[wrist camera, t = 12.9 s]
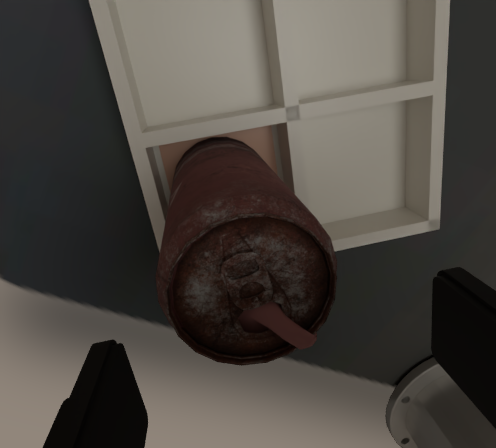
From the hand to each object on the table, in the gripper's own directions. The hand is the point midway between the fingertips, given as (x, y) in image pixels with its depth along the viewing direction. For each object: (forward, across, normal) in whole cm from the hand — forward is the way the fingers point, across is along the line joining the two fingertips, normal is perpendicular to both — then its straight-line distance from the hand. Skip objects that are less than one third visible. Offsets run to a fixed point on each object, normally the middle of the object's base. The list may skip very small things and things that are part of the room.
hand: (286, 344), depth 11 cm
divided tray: (+16, -4, -5) cm, 17 cm away
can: (+15, +1, -1) cm, 15 cm away
